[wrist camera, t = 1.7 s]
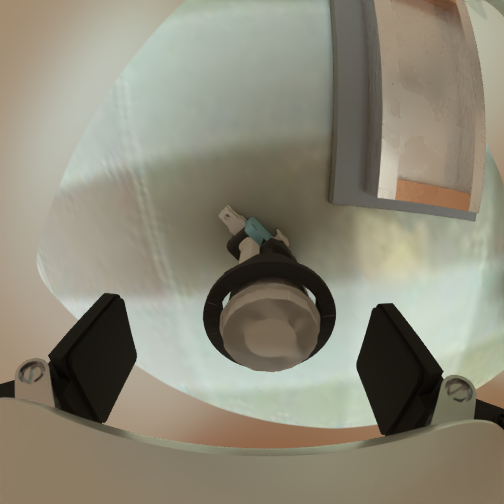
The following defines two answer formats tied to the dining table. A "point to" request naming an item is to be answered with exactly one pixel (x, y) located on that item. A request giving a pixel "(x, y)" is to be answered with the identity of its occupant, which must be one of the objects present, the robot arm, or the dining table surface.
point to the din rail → (424, 104)
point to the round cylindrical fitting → (266, 302)
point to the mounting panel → (358, 118)
